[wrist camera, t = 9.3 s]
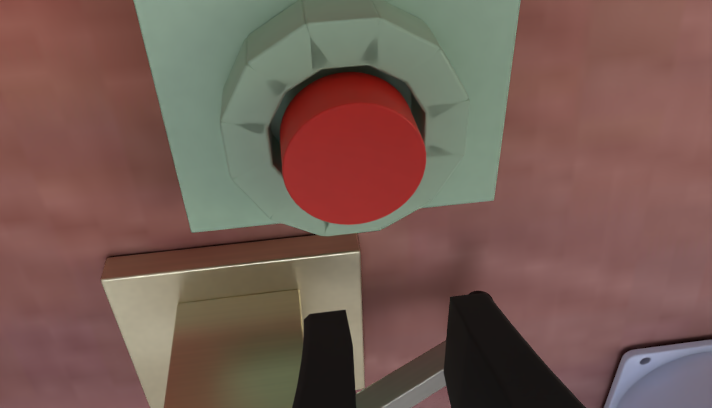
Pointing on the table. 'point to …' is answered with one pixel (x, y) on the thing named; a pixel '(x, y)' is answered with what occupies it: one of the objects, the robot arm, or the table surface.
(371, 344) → the table surface
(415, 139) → the stop button
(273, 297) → the switch bracket
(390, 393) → the power lever
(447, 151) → the stop box
